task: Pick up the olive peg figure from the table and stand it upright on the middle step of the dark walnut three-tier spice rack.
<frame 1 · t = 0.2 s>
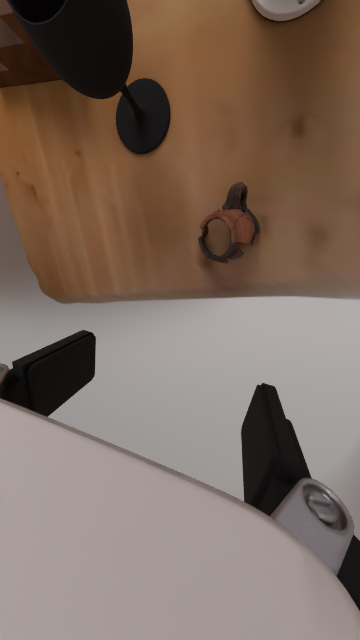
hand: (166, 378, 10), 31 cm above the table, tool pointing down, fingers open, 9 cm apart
wine glass: (143, 119, 34), on the table
spice rack: (36, 26, 34), on the table
brown twisted piece: (231, 229, 35), on the table
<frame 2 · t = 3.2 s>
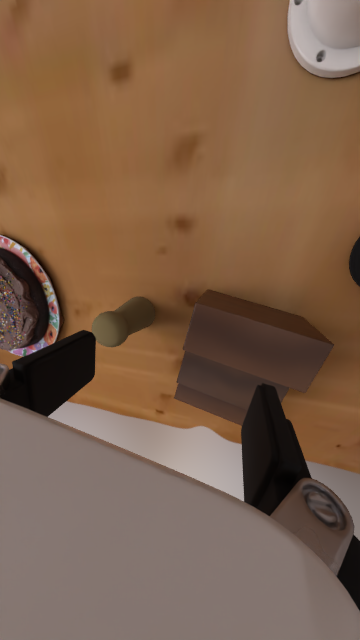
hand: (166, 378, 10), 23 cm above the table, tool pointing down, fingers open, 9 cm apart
chocolate cake: (14, 299, 44), on the table
spice rack: (231, 358, 34), on the table
olive peg figure: (140, 312, 36), on the table
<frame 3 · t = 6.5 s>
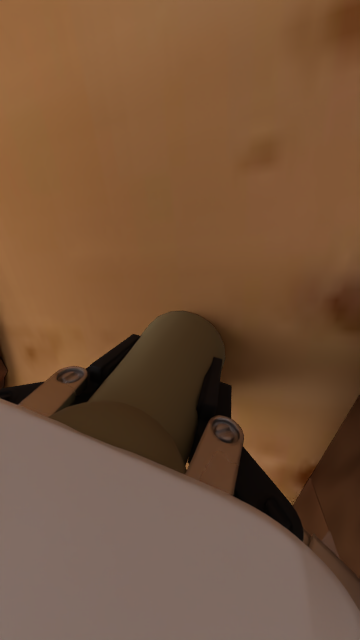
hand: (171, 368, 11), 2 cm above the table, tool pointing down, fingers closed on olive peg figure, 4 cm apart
olive peg figure: (182, 350, 14), on the table, touching gripper
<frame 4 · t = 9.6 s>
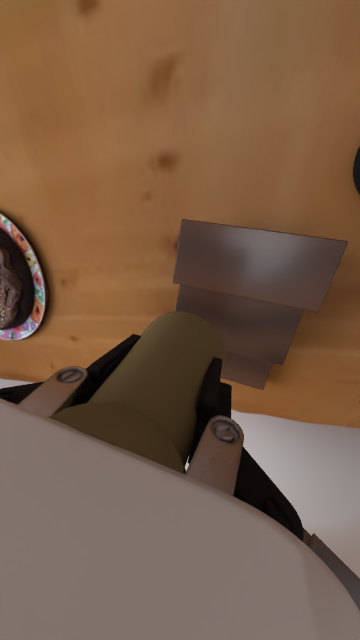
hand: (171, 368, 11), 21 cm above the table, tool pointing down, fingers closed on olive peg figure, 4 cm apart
spice rack: (231, 310, 30), on the table
olive peg figure: (182, 351, 14), point 19 cm above the table, touching gripper
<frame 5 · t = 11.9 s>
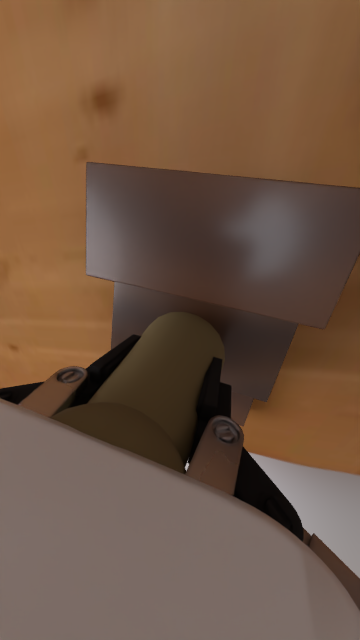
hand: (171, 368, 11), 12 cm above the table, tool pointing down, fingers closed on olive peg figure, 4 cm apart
spice rack: (201, 316, 22), on the table
olive peg figure: (182, 351, 14), point 9 cm above the table, touching gripper
when the fingers open (9 cm above the table, at t = 13.0 s): olive peg figure stays where it is, resting on spice rack.
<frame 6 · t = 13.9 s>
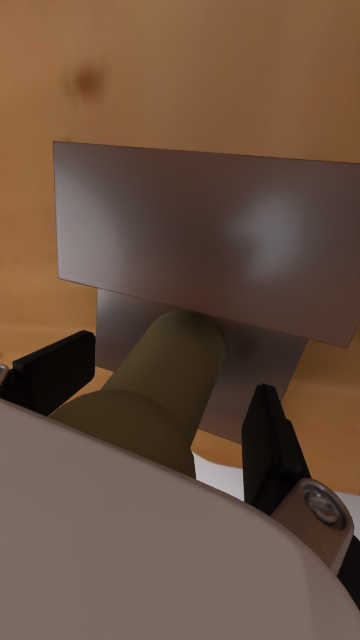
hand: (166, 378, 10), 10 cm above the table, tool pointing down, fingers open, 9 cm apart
spice rack: (198, 323, 20), on the table
olive peg figure: (184, 348, 14), point 6 cm above the table, touching spice rack
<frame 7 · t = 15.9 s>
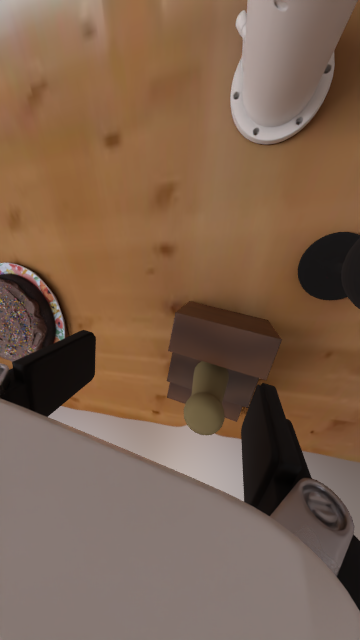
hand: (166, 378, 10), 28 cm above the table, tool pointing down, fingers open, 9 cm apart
wine glass: (333, 267, 30), on the table
chocolate cake: (24, 318, 50), on the table
spice rack: (214, 358, 39), on the table
olive peg figure: (211, 374, 33), point 6 cm above the table, touching spice rack
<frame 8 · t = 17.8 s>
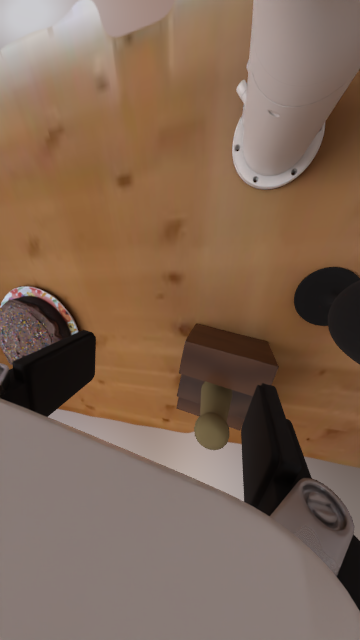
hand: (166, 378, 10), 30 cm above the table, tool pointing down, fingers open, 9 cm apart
wine glass: (326, 297, 34), on the table
chocolate cake: (43, 334, 54), on the table
spice rack: (218, 374, 43), on the table
olive peg figure: (216, 391, 38), point 6 cm above the table, touching spice rack
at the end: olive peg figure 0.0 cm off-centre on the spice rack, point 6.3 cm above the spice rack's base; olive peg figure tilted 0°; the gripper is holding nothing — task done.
